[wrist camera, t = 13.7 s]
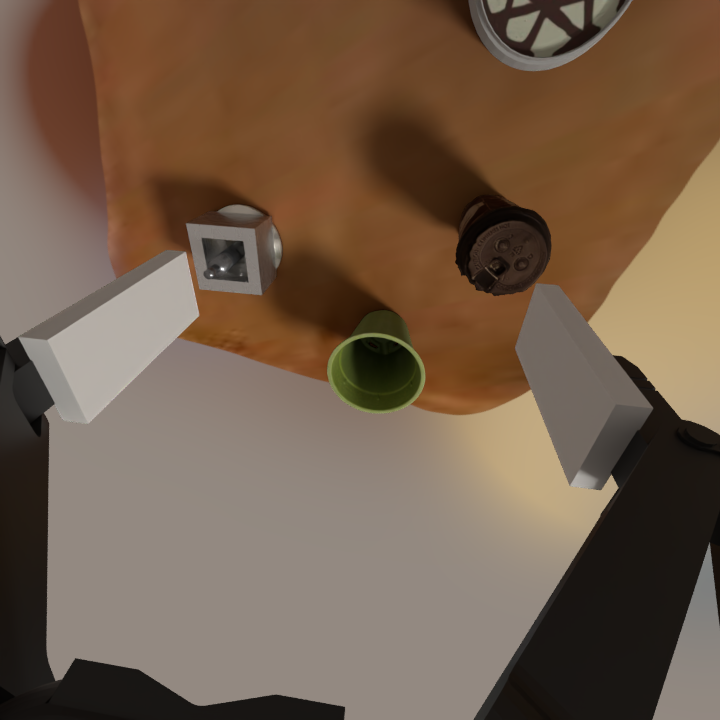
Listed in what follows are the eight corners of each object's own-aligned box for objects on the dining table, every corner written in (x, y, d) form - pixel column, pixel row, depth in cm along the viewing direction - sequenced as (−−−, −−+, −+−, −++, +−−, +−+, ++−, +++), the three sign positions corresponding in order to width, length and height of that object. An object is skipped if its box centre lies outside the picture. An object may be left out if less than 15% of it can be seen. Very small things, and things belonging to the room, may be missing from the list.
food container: (442, 65, 37) (449, 54, 29) (460, -21, 34) (474, -61, 26) (566, 87, 37) (608, 82, 29) (597, 2, 34) (655, -30, 26)
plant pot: (432, 300, 51) (435, 343, 42) (414, 370, 58) (414, 420, 49) (346, 286, 52) (330, 325, 43) (338, 357, 59) (323, 405, 49)
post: (202, 201, 48) (151, 224, 39) (279, 207, 47) (246, 231, 38) (215, 276, 53) (174, 311, 44) (285, 283, 53) (257, 320, 44)
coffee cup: (450, 262, 48) (459, 307, 38) (444, 193, 44) (453, 222, 33) (523, 251, 46) (555, 295, 36) (524, 177, 42) (561, 202, 31)
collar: (209, 210, 48) (186, 223, 43) (271, 215, 47) (254, 228, 42) (220, 271, 52) (199, 289, 47) (276, 276, 52) (261, 295, 47)
